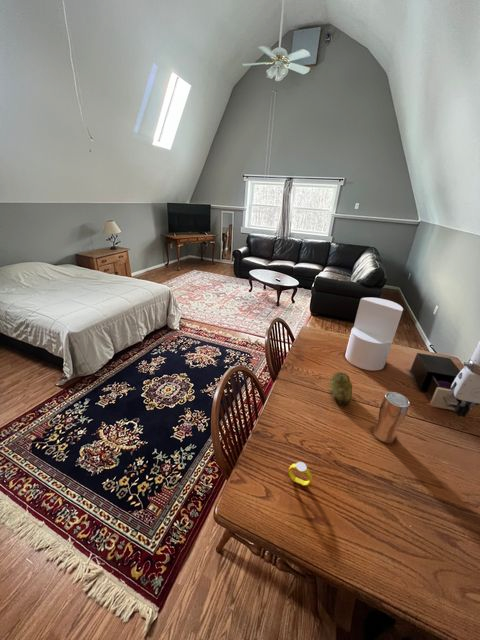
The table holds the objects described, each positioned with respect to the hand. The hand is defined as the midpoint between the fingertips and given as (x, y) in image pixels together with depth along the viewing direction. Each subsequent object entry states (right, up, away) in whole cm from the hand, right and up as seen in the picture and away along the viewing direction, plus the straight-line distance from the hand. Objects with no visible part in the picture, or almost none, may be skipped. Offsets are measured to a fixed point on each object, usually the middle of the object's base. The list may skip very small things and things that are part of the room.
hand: (459, 413), depth 90 cm
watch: (-58, -11, -19) cm, 62 cm away
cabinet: (+6, +5, +22) cm, 23 cm away
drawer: (+3, +1, +11) cm, 11 cm away
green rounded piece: (-36, +2, +12) cm, 38 cm away
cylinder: (-15, +13, +36) cm, 41 cm away
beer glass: (-28, -6, -4) cm, 29 cm away
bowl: (+3, +3, +12) cm, 13 cm away
